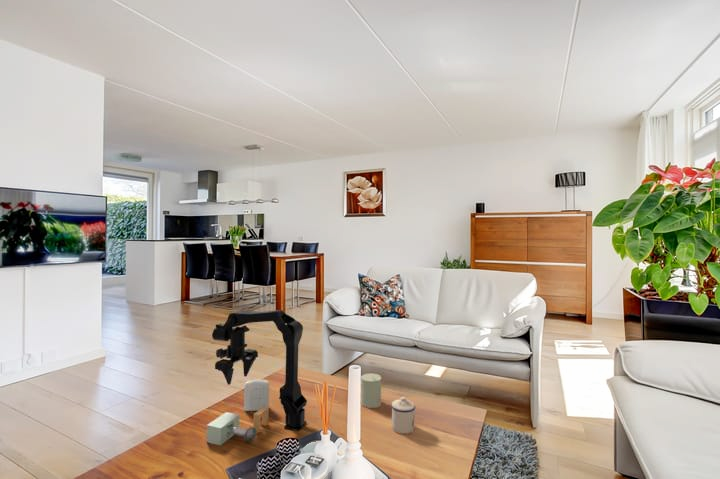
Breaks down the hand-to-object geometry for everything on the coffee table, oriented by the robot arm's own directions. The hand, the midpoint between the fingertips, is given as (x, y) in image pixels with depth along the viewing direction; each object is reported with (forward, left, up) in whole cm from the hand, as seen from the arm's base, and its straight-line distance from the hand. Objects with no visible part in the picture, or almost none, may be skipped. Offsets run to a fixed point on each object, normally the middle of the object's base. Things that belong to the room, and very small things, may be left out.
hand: (237, 380), depth 142 cm
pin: (-12, +15, -13) cm, 23 cm away
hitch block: (-5, +15, -14) cm, 21 cm away
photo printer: (-4, -7, -14) cm, 17 cm away
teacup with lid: (-65, -15, -14) cm, 69 cm away
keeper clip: (-15, +5, -14) cm, 21 cm away
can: (-48, -29, -14) cm, 58 cm away
